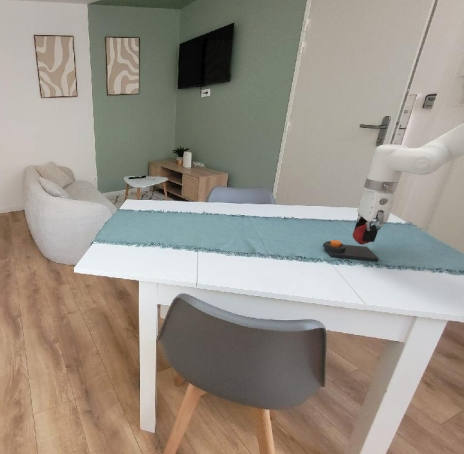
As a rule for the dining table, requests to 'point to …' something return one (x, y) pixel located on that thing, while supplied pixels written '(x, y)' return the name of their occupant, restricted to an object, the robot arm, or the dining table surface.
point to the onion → (360, 234)
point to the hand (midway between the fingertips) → (363, 236)
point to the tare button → (335, 243)
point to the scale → (350, 252)
